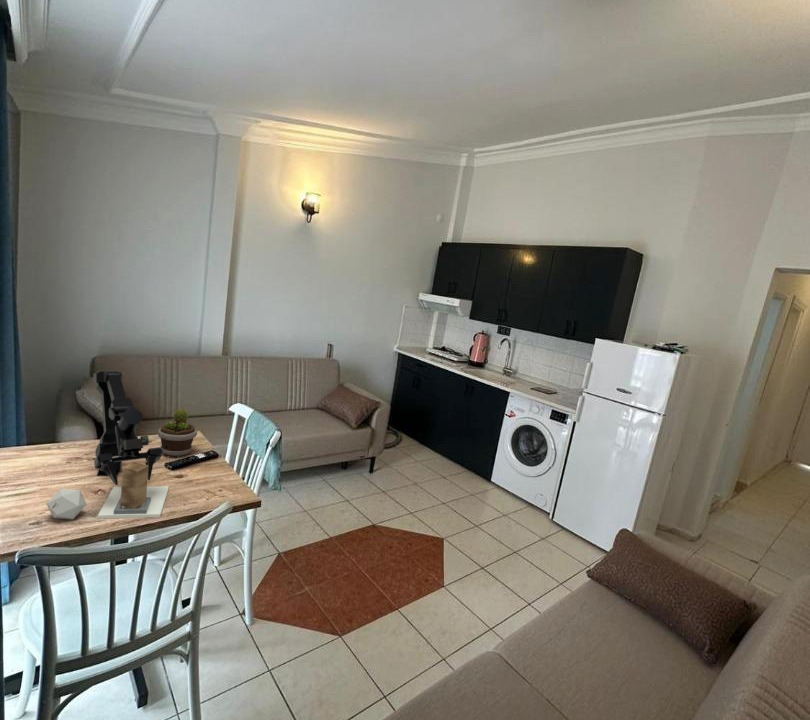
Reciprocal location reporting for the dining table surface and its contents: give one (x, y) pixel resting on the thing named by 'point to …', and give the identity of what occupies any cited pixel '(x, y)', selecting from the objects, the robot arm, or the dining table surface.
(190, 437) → the flowerpot
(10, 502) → the dining table surface
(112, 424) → the robot arm
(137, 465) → the brown paper bag
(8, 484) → the dining table surface
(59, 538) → the dining table surface
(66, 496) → the die
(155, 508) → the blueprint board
